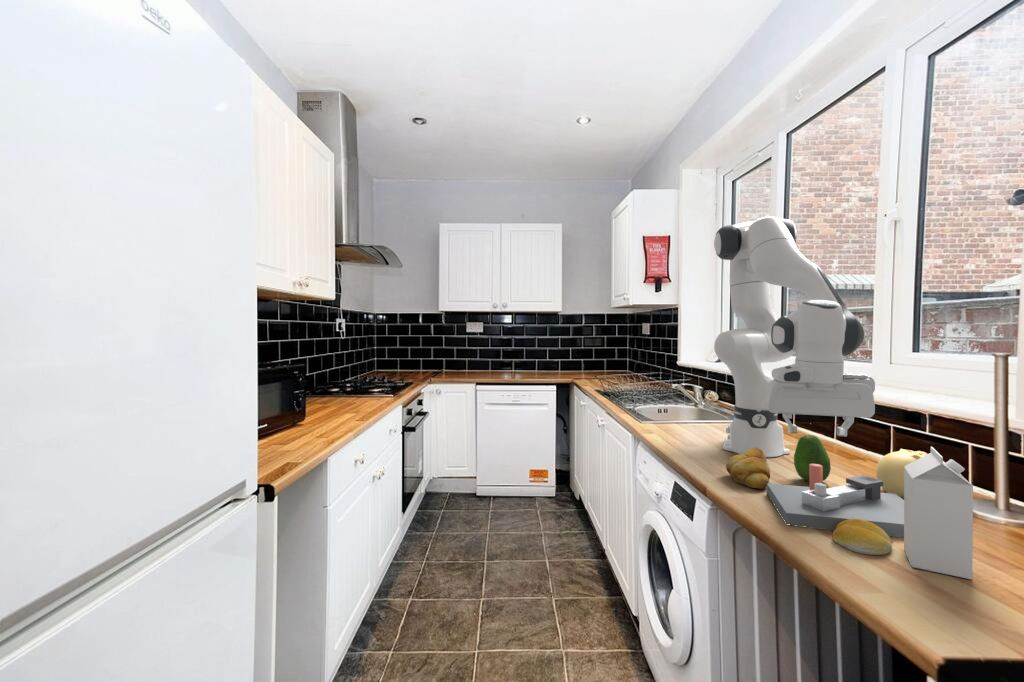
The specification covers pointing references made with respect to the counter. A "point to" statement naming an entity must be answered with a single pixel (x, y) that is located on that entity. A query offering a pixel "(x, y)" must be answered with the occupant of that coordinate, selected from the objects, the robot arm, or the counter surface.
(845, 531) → the bread roll
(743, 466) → the bread roll
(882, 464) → the sculpture
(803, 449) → the avocado
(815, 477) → the peg
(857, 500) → the link
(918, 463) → the milk carton
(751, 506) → the counter surface
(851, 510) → the board
